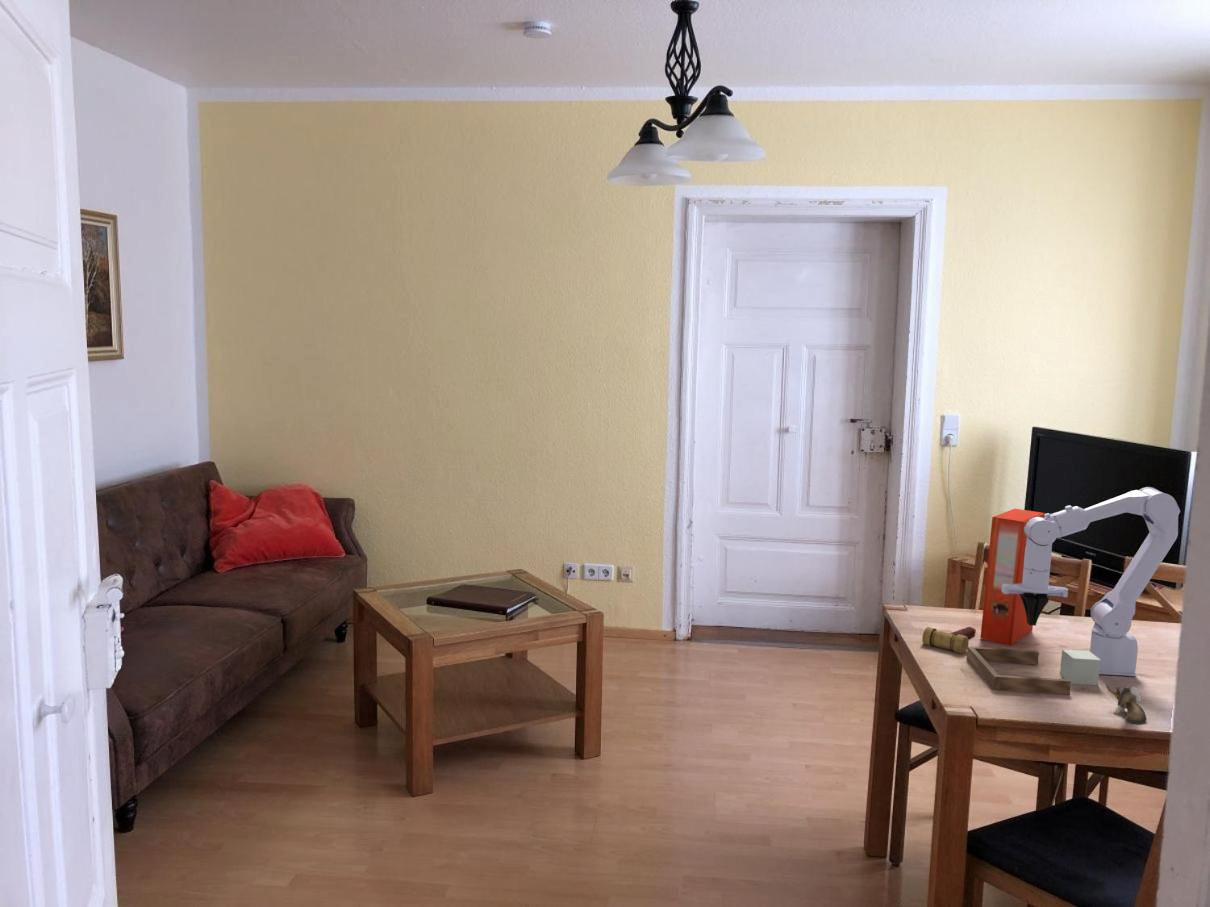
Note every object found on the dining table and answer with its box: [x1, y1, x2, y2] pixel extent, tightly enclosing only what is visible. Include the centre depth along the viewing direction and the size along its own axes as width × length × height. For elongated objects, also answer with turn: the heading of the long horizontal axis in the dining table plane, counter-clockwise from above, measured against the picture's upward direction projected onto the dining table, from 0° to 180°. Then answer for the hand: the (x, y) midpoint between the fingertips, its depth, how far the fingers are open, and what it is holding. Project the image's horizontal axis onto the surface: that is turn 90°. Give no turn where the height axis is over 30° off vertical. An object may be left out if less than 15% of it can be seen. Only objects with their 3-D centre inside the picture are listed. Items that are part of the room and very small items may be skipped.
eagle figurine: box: [1105, 684, 1147, 726], centre depth 199 cm, size 8×7×9 cm
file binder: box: [979, 508, 1046, 647], centre depth 248 cm, size 8×17×32 cm, turn 140°
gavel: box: [921, 626, 977, 655], centre depth 244 cm, size 21×5×10 cm
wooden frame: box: [966, 645, 1072, 695], centre depth 220 cm, size 16×20×3 cm
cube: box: [1059, 649, 1100, 686], centre depth 219 cm, size 6×6×6 cm
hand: (1031, 624), depth 229 cm, fingers closed
